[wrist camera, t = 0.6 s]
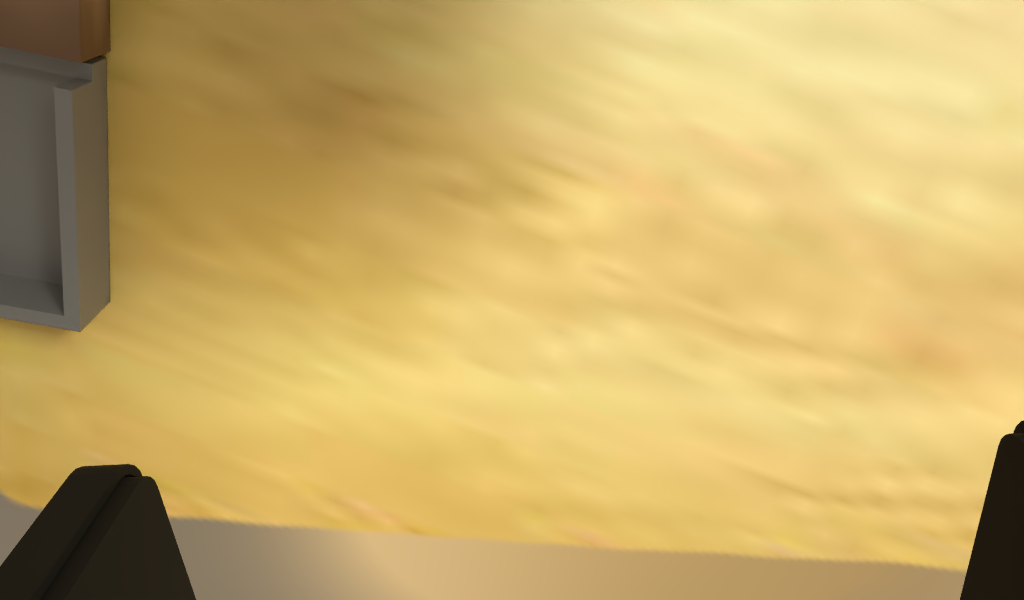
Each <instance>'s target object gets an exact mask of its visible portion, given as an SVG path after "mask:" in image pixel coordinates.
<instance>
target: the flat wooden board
mask: <svg viewBox="0 0 1024 600" xmlns="http://www.w3.org/2000/svg"><path fill="white" fill-rule="evenodd" d="M0 46H1V47H6V48H11V49H15V50H20V51H25V52H30V53H35V54H40V55H44V56H49V57H54V58H59V59H64V60H69V61H73V62H78V63H82V62H85V61H87V60H89V59H92V58H94V57H97V56H99V55H101V54H104V53H106V52H109V51H110V0H0Z"/></svg>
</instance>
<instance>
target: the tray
mask: <svg viewBox="0 0 1024 600" xmlns="http://www.w3.org/2000/svg"><path fill="white" fill-rule="evenodd" d="M109 302H110V259H109V196H108V133H107V69H106V58H103V57H98V56H97V57H94V58H92V59H89V60H87V61H85V62H82V63H78V62H73V61H69V60H64V59H59V58H54V57H49V56H44V55H40V54H35V53H30V52H25V51H20V50H15V49H11V48H6V47H1V46H0V318H5V319H11V320H16V321H22V322H27V323H33V324H39V325H44V326H50V327H55V328H61V329H67V330H72V331H78V332H81V331H82V330H83V329H84V328H85V327H86V326H87V325H88V324H89V323H90V322H91V321H92V320H93V318H94V317H95V316H96V315H97V314H98V313H99V312H100V311H101V310H102V309H103V308H104V307H105V306H106V305H107V304H108V303H109Z"/></svg>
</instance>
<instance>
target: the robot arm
mask: <svg viewBox="0 0 1024 600" xmlns="http://www.w3.org/2000/svg"><path fill="white" fill-rule="evenodd" d="M0 600H196V598H195V595H194V592H193V589H192V587H191V584H190V580H189V577H188V575H187V572H186V569H185V566H184V563H183V560H182V557H181V554H180V551H179V548H178V545H177V542H176V539H175V536H174V533H173V531H172V528H171V525H170V522H169V519H168V516H167V513H166V510H165V507H164V504H163V501H162V498H161V495H160V492H159V489H158V486H157V484H156V482H155V480H153V479H152V478H151V477H148V476H142V474H141V472H140V470H139V469H138V468H137V467H136V466H135V465H130V464H122V465H102V466H82V467H80V468H77V469H75V470H74V471H73V472H72V473H71V474H70V475H69V476H68V478H67V479H66V480H65V482H64V483H63V484H62V486H61V487H60V488H59V490H58V491H57V492H56V494H55V495H54V496H53V498H52V499H51V500H50V501H49V503H48V504H47V505H46V507H45V508H44V509H43V511H42V512H41V513H40V515H39V516H38V517H37V519H36V520H35V521H34V523H33V524H32V525H31V527H30V528H29V529H28V531H27V532H26V533H25V535H24V536H23V537H22V538H21V540H20V541H19V543H18V544H17V545H16V546H15V548H14V549H13V550H12V552H11V553H10V554H9V556H8V557H7V558H6V560H5V561H4V562H3V564H2V565H1V566H0ZM960 600H1024V421H1021V422H1020V423H1019V424H1018V425H1017V426H1016V428H1015V430H1014V433H1013V434H1007V435H1005V436H1004V437H1003V438H1002V439H1001V441H1000V443H999V446H998V450H997V454H996V458H995V462H994V466H993V470H992V474H991V478H990V482H989V486H988V490H987V494H986V498H985V502H984V506H983V510H982V514H981V518H980V522H979V526H978V530H977V534H976V538H975V542H974V546H973V550H972V554H971V558H970V562H969V566H968V569H967V573H966V577H965V582H964V586H963V590H962V593H961V597H960Z"/></svg>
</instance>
